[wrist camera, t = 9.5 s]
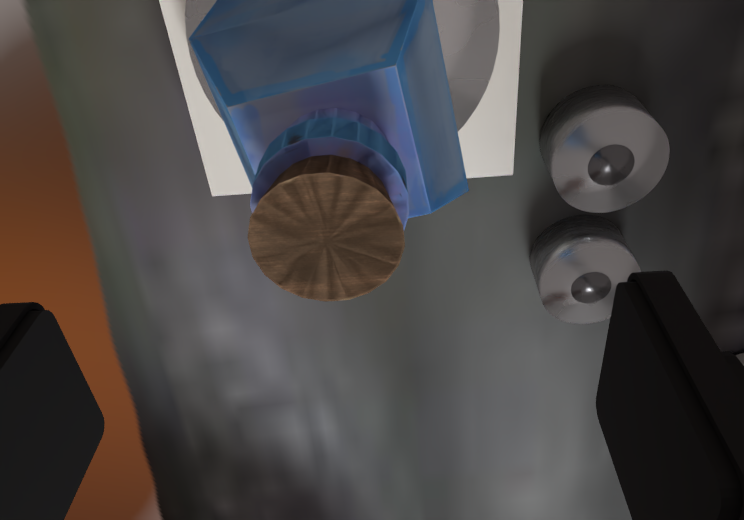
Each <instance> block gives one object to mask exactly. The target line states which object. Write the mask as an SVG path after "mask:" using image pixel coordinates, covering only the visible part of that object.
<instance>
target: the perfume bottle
mask: <svg viewBox="0 0 744 520" xmlns="http://www.w3.org/2000/svg"><path fill="white" fill-rule="evenodd" d="M189 41H190V43H191V46H192V48H193V50H194V53H195V55H196V57H197V60H198V62H199V64H200V67H201V69H202V71H203V74H204V76H205V79H206V81H207V83H208V86H209V88H210V90H211V93H212V95H213V97H214V100H215V102H216V104H217V107H218V109H219V111H220V114H221V116H222V118H223V121H224V123H225V125H226V128H227V130H228V132H229V135H230V137H231V139H232V142H233V144H234V146H235V149H236V151H237V153H238V156H239V158H240V161H241V163H242V165H243V168H244V170H245V172H246V175H247V177H248V179H249V182H250V184H251V186H252V195H251V203H250V206H251V210H252V215H251V217H250V224H249V231H248V241H249V245H250V248H251V252H252V256H253V258H254V260H255V261H256V263H257V264H258V266H259V267H260V269H261V270H262V272H263V273H264V275H266V276H267V277H268V278H269V279H271V280H272V281H273V282H274V283H276V284H277V285H278V286H279V287H281V288H282V289H284V290H286V291H289V292H291V293H293V294H296V295H298V296H300V297H302V298H308V299H314V300H320V301H338V300H349V299H352V298H355V297H358V296H361V295H364V294H367V293H369V292H371V291H372V290H374V289H375V288H377V287H378V286H380V285H381V284H383V283H384V282H386V281H387V280H388V278H389V277H390V276H391V274H392V273H393V272H394V270H395V269H396V268H397V267H398V265H399V263H400V260H401V256H402V253H403V250H404V247H405V242H404V229H405V226H406V222H407V219H408V218H411V217H416V216H420V215H425V214H430V213H432V212H434V211H436V210H437V209H439V208H441V207H442V206H444V205H446V204H447V203H449V202H451V201H452V200H454V199H456V198H457V197H459V196H461V195H463V194H464V193H466V192H468V191H469V189H468V183H467V178H466V173H465V168H464V163H463V157H462V152H461V147H460V142H459V136H458V131H457V126H456V121H455V115H454V110H453V105H452V100H451V95H450V89H449V84H448V79H447V74H446V68H445V63H444V58H443V53H442V48H441V42H440V37H439V32H438V27H437V21H436V16H435V11H434V6H433V0H217V1H216V2H215V4H214V5H213V6H212V8H211V9H210V10H209V12H208V13H207V14H206V16H205V17H204V18H203V20H202V21H201V22H200V24H199V25H198V27H197V28H196V29H195V31H194V32H193V33H192V35H191V36H190V37H189Z"/></svg>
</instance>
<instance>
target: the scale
mask: <svg viewBox="0 0 744 520" xmlns="http://www.w3.org/2000/svg"><path fill="white" fill-rule="evenodd" d="M159 2H160V6H161V10H162V13H163V17H164V21H165V24H166V28H167V32H168V35H169V39H170V43H171V46H172V50H173V54H174V57H175V61H176V65H177V68H178V72H179V76H180V79H181V83H182V87H183V90H184V94H185V98H186V101H187V105H188V109H189V112H190V116H191V120H192V124H193V127H194V131H195V135H196V138H197V142H198V146H199V149H200V153H201V157H202V160H203V164H204V168H205V171H206V175H207V179H208V182H209V186H210V190H211V193H212V196H222V195H236V194H250V193H252V186H251V184H250V182H249V179H248V177H247V175H246V172H245V170H244V168H243V165H242V163H241V161H240V158H239V156H238V153H237V151H236V149H235V146H234V144H233V142H232V139H231V137H230V135H229V132H228V130H227V128H226V125H225V123H224V121H223V120H222V119H221V117H220V116H219V115H218V114H217V112H216V111H215V110H214V108H213V106H212V105H211V103H210V102H209V100H208V98H207V97H206V95H205V93H204V91H203V89H202V87H201V85H200V83H199V80H198V78H197V76H196V73H195V70H194V67H193V64H192V61H191V58H190V53H189V48H188V43H187V38H186V25H185V6H186V0H159ZM498 5H499V21H500V33H499V43H498V52H497V56H496V61H495V65H494V69H493V73H492V75H491V78H490V81H489V83H488V86H487V89H486V91H485V93H484V95H483V97H482V99H481V100H480V102H479V104H478V106H477V108H476V109H475V111H474V112H473V114H472V115H471V116H470V118H469V119H468V121H467V122H466V123H465V125H464V126H463V127H462V128H461V129H460V130H459V131H458V136H459V142H460V147H461V152H462V157H463V163H464V168H465V173H466V178H476V177H490V176H505V175H513V165H514V147H515V130H516V113H517V95H518V78H519V61H520V43H521V26H522V9H523V0H498Z"/></svg>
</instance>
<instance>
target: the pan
mask: <svg viewBox="0 0 744 520" xmlns="http://www.w3.org/2000/svg"><path fill="white" fill-rule="evenodd" d="M216 1H217V0H186V6H185V25H186V38H187V43H188V48H189V53H190V58H191V61H192V64H193V67H194V70H195V73H196V76H197V78H198V80H199V83H200V85H201V87H202V89H203V91H204V93H205V95H206V97H207V98H208V100H209V102H210V103H211V105H212V106H213V108H214V110H215V111H216V112H217V114H218V115H219V116H220V117H221V119H222V120H223V118H222V116H221V114H220V111H219V109H218V107H217V104H216V102H215V100H214V97H213V95H212V93H211V90H210V88H209V86H208V83H207V81H206V79H205V76H204V74H203V71H202V69H201V67H200V64H199V62H198V60H197V57H196V55H195V53H194V50H193V48H192V46H191V43H190V41H189V37H190V36H191V35H192V33H193V32H194V31H195V29H196V28H197V27H198V25H199V24H200V22H201V21H202V20H203V18H204V17H205V16H206V14H207V13H208V12H209V10H210V9H211V8H212V6H213V5H214V4H215V2H216ZM433 6H434V11H435V16H436V21H437V27H438V32H439V37H440V42H441V48H442V53H443V58H444V63H445V68H446V74H447V79H448V84H449V89H450V95H451V100H452V105H453V110H454V115H455V121H456V126H457V131H459V130H460V129H461V128H462V127H463V126H464V125H465V123H466V122H467V121H468V119H469V118H470V116H471V115H472V114H473V112H474V111H475V109H476V108H477V106H478V104H479V102H480V100H481V99H482V97H483V95H484V93H485V91H486V89H487V86H488V83H489V81H490V78H491V75H492V73H493V69H494V65H495V61H496V56H497V52H498V43H499V33H500V21H499V5H498V0H433Z"/></svg>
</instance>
